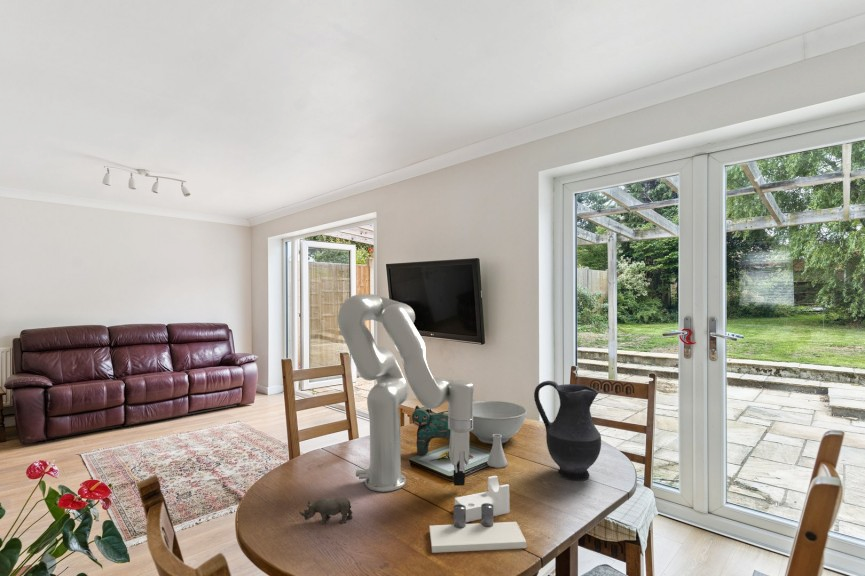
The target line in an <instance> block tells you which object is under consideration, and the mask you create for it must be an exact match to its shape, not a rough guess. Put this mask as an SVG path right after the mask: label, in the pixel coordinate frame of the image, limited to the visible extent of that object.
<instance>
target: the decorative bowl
mask: <svg viewBox="0 0 865 576" xmlns="http://www.w3.org/2000/svg"><path fill="white" fill-rule="evenodd" d="M527 414H528V409H527V408H526V407H525V406H523V405H521V404H518V403H514V402H508V401H501V400H481V401H474V409H473V430H471V431H470V432H471V433H472V434H473V435H475V436H476V437H477V438H478V440H479V441H480V442H481V443H484V444H490V445H493V436H492V435H493V434H500V435H502V437H501V444H505V443H507V442H509V440H510V438H512V437H514V436H515V435H516V434H517V433H518V432H519V431H520V429H521V428H522V427H523V424H524V422H525V420H526V417H527Z"/></svg>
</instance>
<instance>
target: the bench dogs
mask: <svg viewBox="0 0 865 576" xmlns="http://www.w3.org/2000/svg"><path fill="white" fill-rule="evenodd" d="M480 520H481V521H480V523H481V524H482V526H484V527H492V526H493V523H494V516H493V505H492V504H489V503H484V504H482V505H481V519H480ZM466 524H467V522H466V507H465V506H464V505H461V504H457V505H455V504H454V505H453V525H454V527H456V528H464V527H465V526H466Z"/></svg>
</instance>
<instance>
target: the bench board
mask: <svg viewBox="0 0 865 576" xmlns="http://www.w3.org/2000/svg"><path fill="white" fill-rule="evenodd" d="M429 536H430V544H431V545H430V546H431V553H433V554H435V553H455V552H457V553H458V552H475V551H495V550H497V551H498V550H513V549H514V550H515V549H518V550H519V549H527V540H526V538H525V536H524V534H523V533H522V530H521V527H520V526H519V524H518V522H517V521H503V522H493V526H492V527H484V526H482V524H481V522H480V523H478V522H477V523H466V526H465V527H464V528H456V527H454V524H438V525H437V524H436V525H429Z"/></svg>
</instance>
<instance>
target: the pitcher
mask: <svg viewBox="0 0 865 576" xmlns="http://www.w3.org/2000/svg"><path fill="white" fill-rule="evenodd" d="M546 386H550V387H553V388H554V389H555V390H556V392H557V394H558V398H559V408H558V411H557V413H556V416H555V418H554V420H553V421H552V422H551V421H550V420H549V419H548V417H547V414H546V411H545V410H544V407H543V404H542V403H541V400H540V396H539V394H540V393H539V391H540V390H541V389H542V388H543V387H546ZM598 395H599V391H598V390H597V389H595V388H593V387H592V386H591V387H590V386H588V385H584V384H577V383H575V384H570V383H568V384H558V382H555V381H553V380H545V381H542V382H540V383H539V384H537V385H536V387H535V389H534V392H533V397H534V398H533V399H534V402H535V405H536V409H537V411H538V413H539V415H540V417H541V420H542V422H543V424H544V427H545V432H546V435H545V437H546V439H545V440H546V446H547V451H548V452H549V453H548V454H549V456H550V458H551V459H552V460H553V462H554V463H555V464H556V465H557V466H558V468H559V469H558V472H557V473H558V475H559V476H560V477H562V478H564V479H566V480H570V481H586V480H587V479H589V478H590V473H589V470H588V469H589V468H591V467H592V466H593V465H594V463H595V462H596V461H597V459H598V458H599V455H600V453H601V449H602V437H601V436H602V434H601V433H600V432H599V430H598V429H597V427H596V425H595V423H594V421H593V417H592V413H591V406H592V404H593V402H594V400H595V399H596V397H597V396H598Z"/></svg>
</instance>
